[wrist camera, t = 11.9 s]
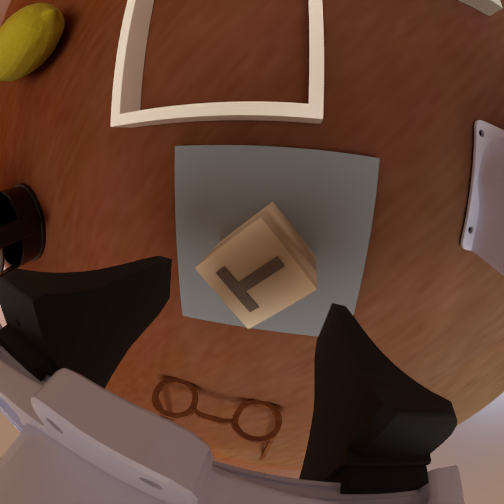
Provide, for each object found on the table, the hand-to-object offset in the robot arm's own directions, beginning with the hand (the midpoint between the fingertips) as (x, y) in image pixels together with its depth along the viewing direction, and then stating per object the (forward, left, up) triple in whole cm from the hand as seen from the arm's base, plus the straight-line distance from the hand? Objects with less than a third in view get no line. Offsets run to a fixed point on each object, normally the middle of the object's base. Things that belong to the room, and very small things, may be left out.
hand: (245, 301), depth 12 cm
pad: (0, 0, -8) cm, 8 cm away
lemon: (+20, +24, -8) cm, 32 cm away
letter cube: (0, 0, -7) cm, 7 cm away
